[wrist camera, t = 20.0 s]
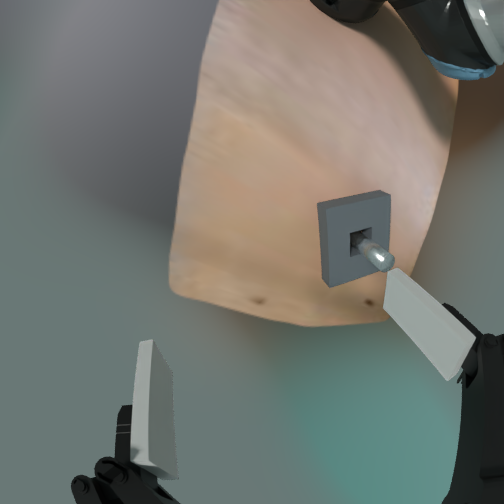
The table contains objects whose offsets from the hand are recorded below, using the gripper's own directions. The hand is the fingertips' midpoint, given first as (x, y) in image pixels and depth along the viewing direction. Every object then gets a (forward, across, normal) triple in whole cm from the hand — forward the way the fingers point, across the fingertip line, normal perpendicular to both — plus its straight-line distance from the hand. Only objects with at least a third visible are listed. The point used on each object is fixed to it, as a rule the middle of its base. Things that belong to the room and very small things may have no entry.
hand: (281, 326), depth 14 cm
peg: (+32, +23, -14) cm, 42 cm away
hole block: (+32, +23, -14) cm, 42 cm away
